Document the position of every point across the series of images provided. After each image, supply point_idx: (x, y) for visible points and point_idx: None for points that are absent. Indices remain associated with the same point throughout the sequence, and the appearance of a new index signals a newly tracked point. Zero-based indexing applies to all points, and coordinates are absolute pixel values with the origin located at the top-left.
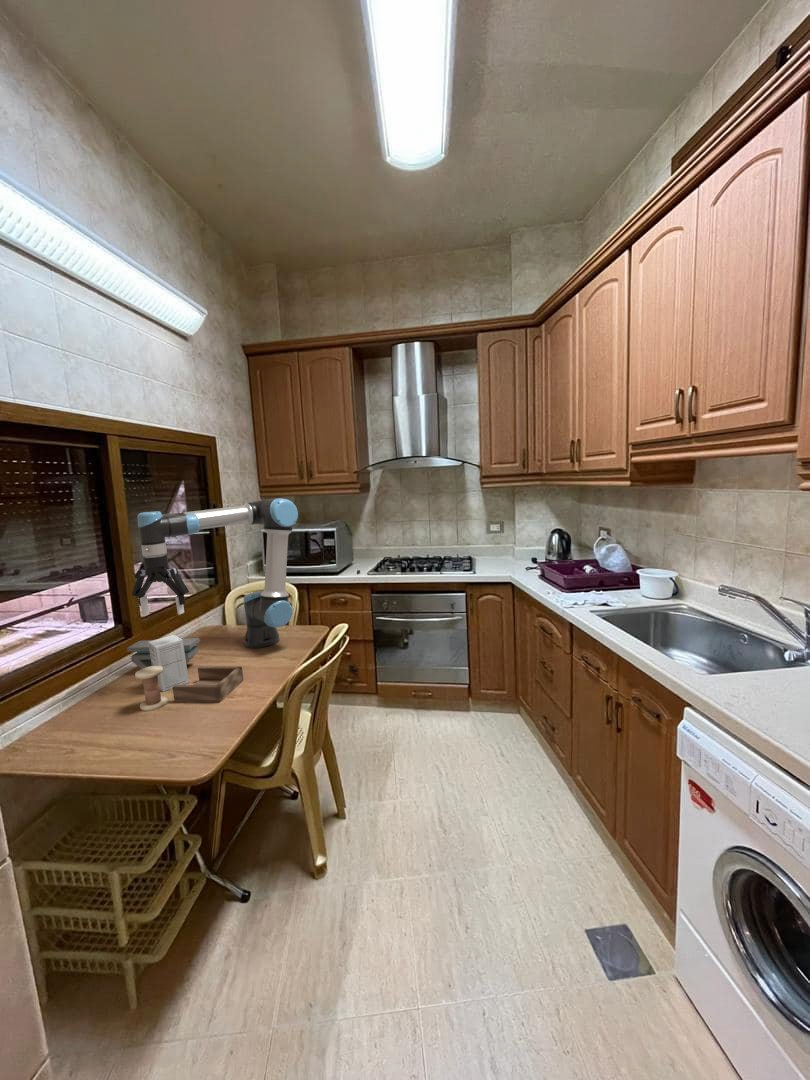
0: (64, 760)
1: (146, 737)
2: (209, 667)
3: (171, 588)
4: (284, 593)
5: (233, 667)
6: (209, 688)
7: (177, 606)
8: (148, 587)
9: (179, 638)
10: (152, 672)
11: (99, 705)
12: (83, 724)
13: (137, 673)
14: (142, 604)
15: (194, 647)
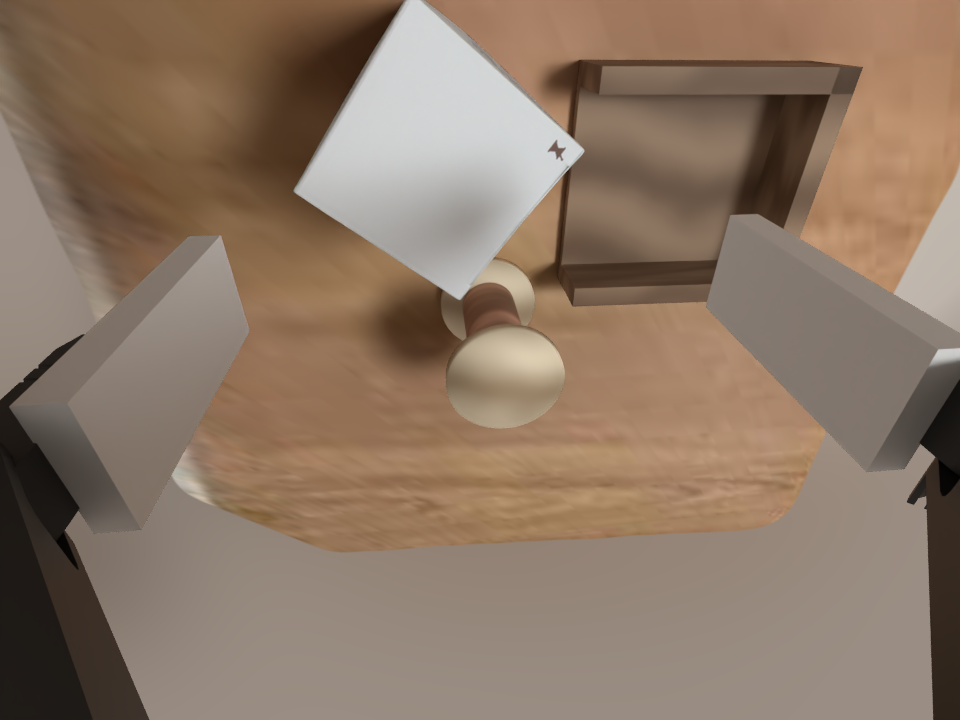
0: (444, 526)
1: (587, 448)
2: (668, 79)
3: (954, 636)
4: None
5: (814, 81)
6: None
7: (773, 363)
8: (87, 663)
9: (541, 121)
10: (537, 397)
11: (252, 316)
12: (330, 418)
13: (467, 408)
14: (187, 430)
15: None
